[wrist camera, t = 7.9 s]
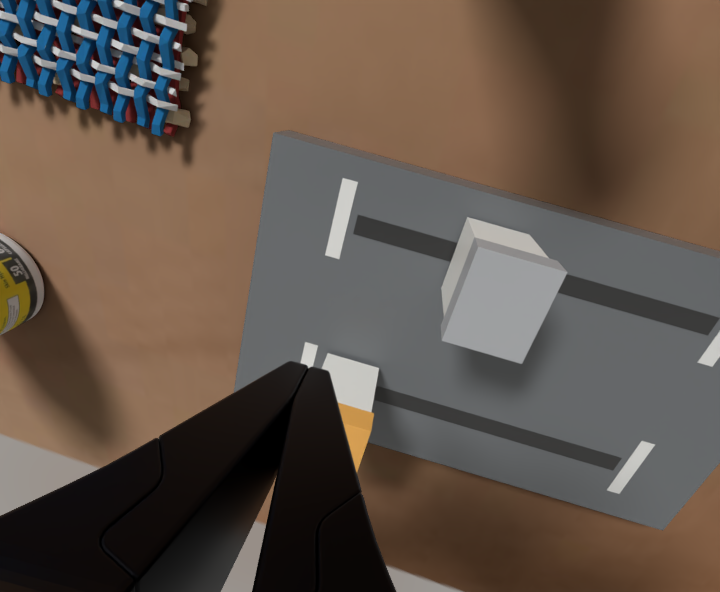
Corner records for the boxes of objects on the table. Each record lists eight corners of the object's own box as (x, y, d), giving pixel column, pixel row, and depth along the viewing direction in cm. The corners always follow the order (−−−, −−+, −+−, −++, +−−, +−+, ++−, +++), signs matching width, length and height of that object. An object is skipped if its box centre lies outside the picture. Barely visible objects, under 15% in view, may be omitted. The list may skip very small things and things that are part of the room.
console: (812, 277, 17) (858, 297, 15) (643, 496, 23) (662, 530, 21) (288, 130, 18) (273, 132, 16) (247, 378, 23) (232, 402, 21)
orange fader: (381, 366, 19) (370, 431, 15) (364, 420, 20) (350, 492, 17) (326, 350, 19) (301, 410, 15) (312, 405, 20) (286, 472, 17)
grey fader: (533, 232, 16) (567, 272, 12) (500, 307, 17) (521, 364, 13) (465, 213, 16) (478, 246, 12) (438, 289, 17) (441, 340, 13)
